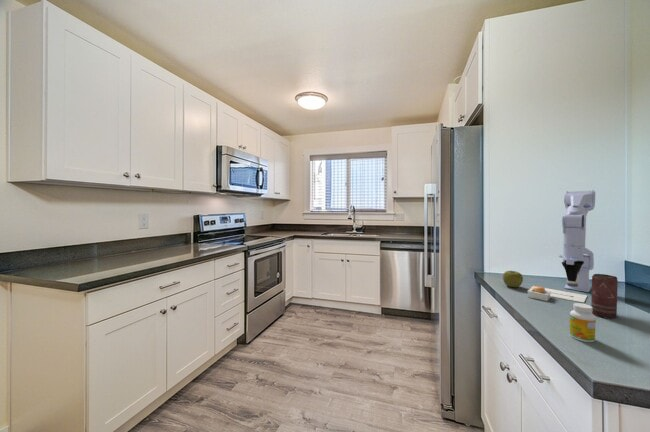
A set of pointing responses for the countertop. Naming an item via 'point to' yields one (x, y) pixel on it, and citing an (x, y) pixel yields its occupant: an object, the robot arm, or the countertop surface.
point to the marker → (573, 283)
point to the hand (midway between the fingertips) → (572, 280)
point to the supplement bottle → (582, 323)
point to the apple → (512, 278)
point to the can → (604, 295)
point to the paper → (566, 295)
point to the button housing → (539, 295)
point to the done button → (539, 289)
